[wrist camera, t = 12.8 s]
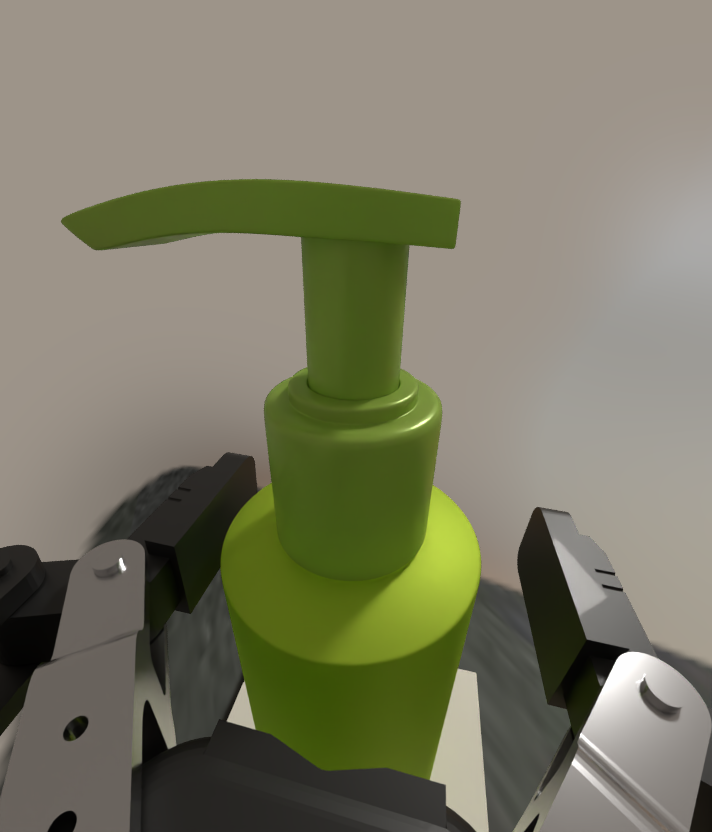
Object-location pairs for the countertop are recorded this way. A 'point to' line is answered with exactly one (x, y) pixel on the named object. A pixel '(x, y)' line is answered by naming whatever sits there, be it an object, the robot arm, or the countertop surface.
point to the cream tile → (440, 749)
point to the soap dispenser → (337, 478)
